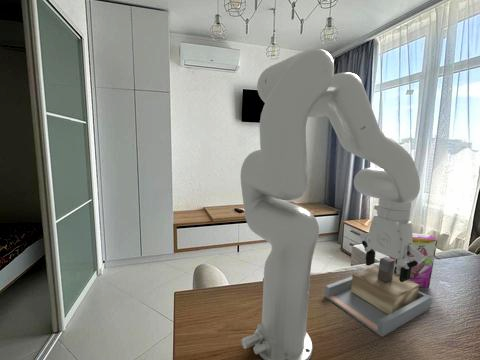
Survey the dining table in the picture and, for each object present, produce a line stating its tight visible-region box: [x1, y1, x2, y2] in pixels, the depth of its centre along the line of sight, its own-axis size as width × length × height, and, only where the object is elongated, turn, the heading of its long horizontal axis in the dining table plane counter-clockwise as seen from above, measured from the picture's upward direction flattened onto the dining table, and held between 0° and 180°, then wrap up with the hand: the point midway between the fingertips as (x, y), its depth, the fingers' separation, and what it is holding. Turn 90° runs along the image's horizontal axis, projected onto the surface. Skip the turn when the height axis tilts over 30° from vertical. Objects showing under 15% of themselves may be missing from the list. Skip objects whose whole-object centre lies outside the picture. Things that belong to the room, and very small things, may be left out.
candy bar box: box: [388, 232, 439, 289], centre depth 80 cm, size 11×5×16 cm, turn 84°
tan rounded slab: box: [351, 256, 420, 315], centre depth 71 cm, size 12×12×12 cm
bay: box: [324, 275, 433, 338], centre depth 71 cm, size 22×17×4 cm
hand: (385, 272), depth 71 cm, fingers open, 9 cm apart
